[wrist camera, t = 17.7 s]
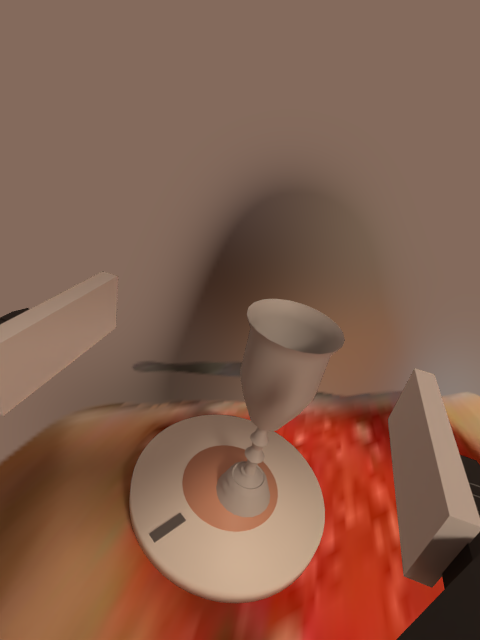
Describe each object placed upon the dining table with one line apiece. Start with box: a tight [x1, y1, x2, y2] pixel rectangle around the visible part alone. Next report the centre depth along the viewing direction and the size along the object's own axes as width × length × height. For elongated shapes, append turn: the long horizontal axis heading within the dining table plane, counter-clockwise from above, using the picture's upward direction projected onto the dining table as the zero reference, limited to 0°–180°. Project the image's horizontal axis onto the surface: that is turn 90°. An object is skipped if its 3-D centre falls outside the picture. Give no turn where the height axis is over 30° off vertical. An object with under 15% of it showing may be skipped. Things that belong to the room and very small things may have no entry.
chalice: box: [216, 299, 345, 517], centre depth 30 cm, size 7×7×18 cm
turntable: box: [129, 415, 325, 603], centre depth 35 cm, size 18×18×2 cm
